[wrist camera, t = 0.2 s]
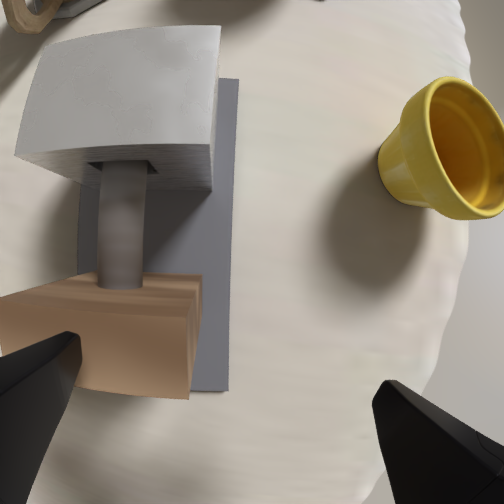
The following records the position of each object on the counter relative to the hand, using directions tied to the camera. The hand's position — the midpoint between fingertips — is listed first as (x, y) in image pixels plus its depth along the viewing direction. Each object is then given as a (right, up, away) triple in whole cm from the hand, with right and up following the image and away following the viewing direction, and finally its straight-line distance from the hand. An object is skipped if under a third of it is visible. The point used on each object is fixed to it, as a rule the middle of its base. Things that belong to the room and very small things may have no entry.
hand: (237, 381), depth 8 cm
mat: (-7, +6, +14) cm, 17 cm away
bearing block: (-7, +11, +13) cm, 19 cm away
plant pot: (+15, +11, +17) cm, 25 cm away
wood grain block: (-7, +6, +13) cm, 16 cm away
